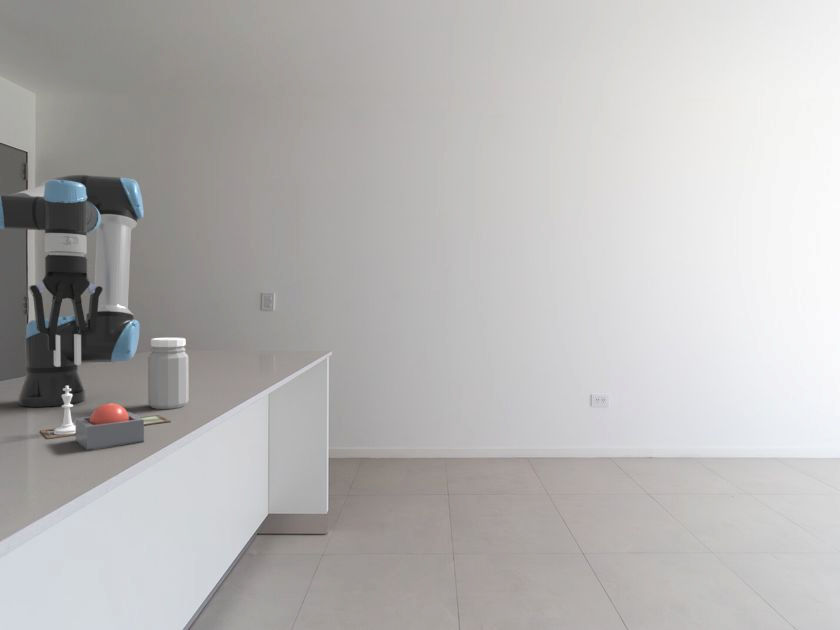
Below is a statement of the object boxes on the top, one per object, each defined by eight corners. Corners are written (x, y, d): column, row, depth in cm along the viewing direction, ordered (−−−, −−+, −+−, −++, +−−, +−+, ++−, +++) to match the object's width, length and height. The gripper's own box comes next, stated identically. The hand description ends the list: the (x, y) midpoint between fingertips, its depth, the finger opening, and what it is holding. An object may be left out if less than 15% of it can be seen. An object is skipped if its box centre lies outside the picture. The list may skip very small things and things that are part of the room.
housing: (75, 440, 113) (75, 418, 113) (129, 432, 120) (129, 411, 120) (87, 450, 106) (87, 427, 105) (143, 441, 112) (143, 419, 112)
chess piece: (67, 435, 117) (67, 388, 117) (48, 434, 118) (47, 387, 118) (86, 430, 122) (85, 384, 121) (67, 428, 123) (66, 383, 122)
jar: (140, 409, 144) (139, 339, 143) (162, 402, 154) (161, 336, 153) (175, 410, 143) (175, 340, 142) (195, 403, 153) (195, 337, 152)
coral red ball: (85, 437, 113) (85, 403, 113) (123, 432, 118) (123, 399, 117) (94, 444, 108) (93, 408, 108) (133, 438, 112) (133, 404, 112)
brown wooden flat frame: (40, 431, 120) (40, 430, 120) (158, 415, 136) (158, 414, 136) (47, 439, 114) (47, 438, 114) (170, 421, 130) (170, 421, 130)
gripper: (22, 252, 110) (24, 370, 111) (113, 256, 121) (114, 364, 122) (17, 253, 116) (18, 366, 117) (104, 257, 127) (105, 360, 128)
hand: (67, 364), depth 119 cm, fingers open, 3 cm apart
